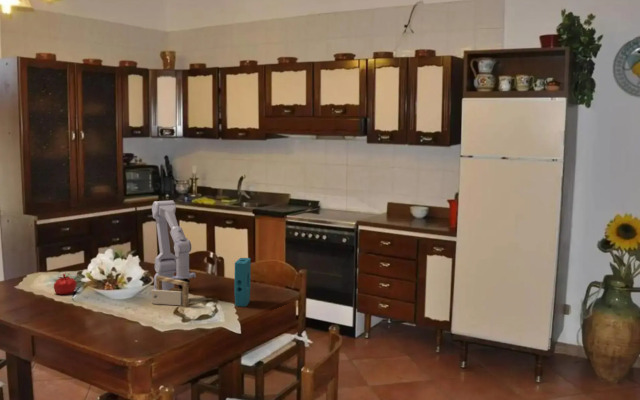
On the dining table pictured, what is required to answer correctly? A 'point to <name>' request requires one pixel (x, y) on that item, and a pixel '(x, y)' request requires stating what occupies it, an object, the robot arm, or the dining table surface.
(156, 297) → the door
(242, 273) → the block
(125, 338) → the dining table surface
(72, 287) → the pomegranate
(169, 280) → the door frame
